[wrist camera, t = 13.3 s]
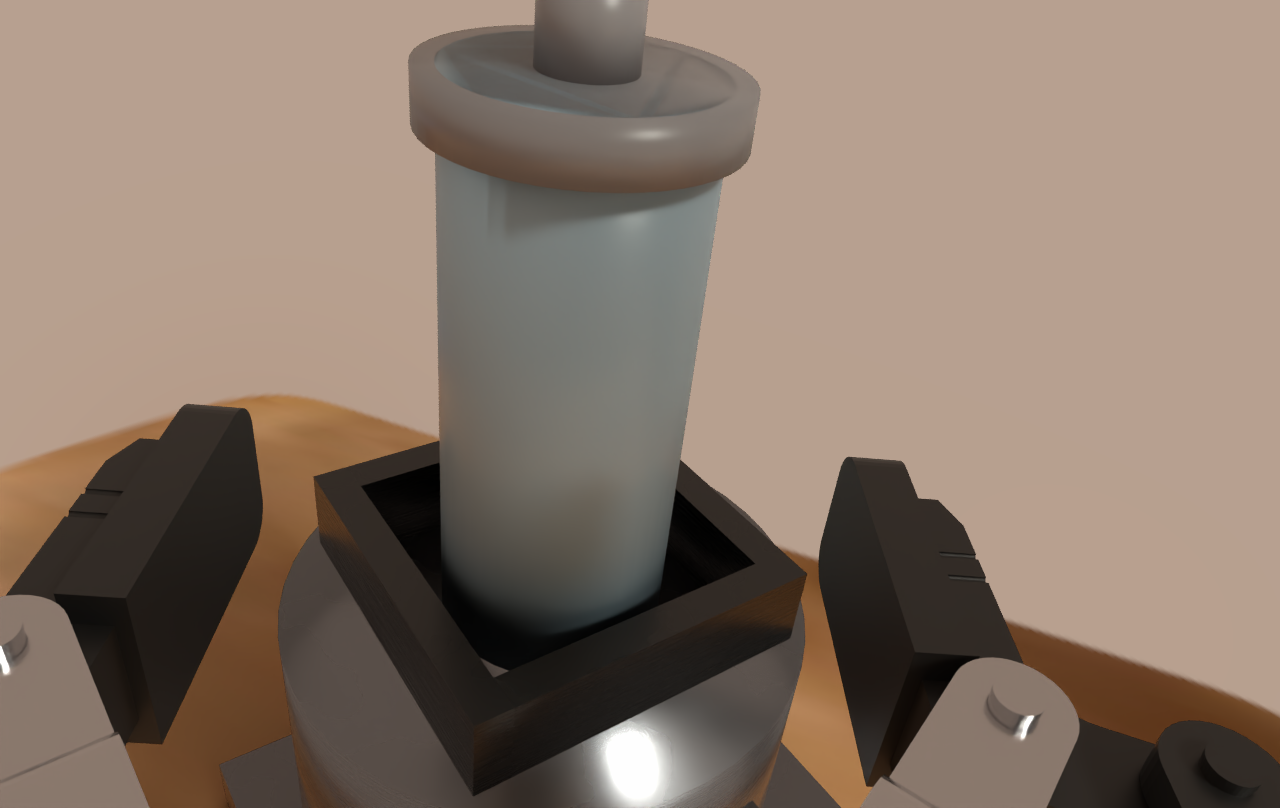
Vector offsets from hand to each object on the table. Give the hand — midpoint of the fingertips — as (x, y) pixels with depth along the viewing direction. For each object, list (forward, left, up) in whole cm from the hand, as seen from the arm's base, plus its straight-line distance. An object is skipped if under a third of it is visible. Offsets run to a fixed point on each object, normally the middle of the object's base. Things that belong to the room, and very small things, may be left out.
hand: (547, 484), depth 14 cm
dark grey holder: (-4, -5, -17) cm, 18 cm away
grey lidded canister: (-4, -5, -8) cm, 10 cm away
